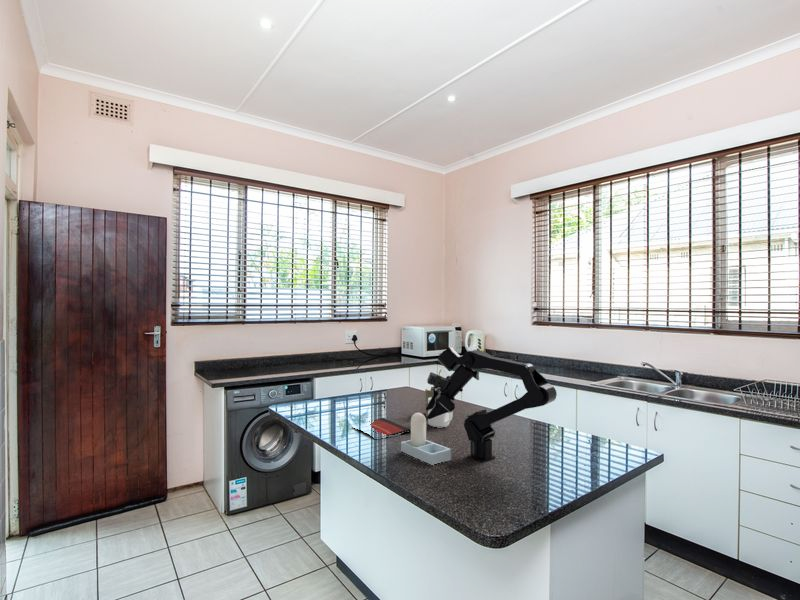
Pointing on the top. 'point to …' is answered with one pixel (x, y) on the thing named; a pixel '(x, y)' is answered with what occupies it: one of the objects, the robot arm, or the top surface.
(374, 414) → the top surface
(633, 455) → the top surface
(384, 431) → the binder
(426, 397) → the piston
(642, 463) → the top surface
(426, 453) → the divided tray
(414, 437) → the cream rounded cylinder
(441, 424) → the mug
